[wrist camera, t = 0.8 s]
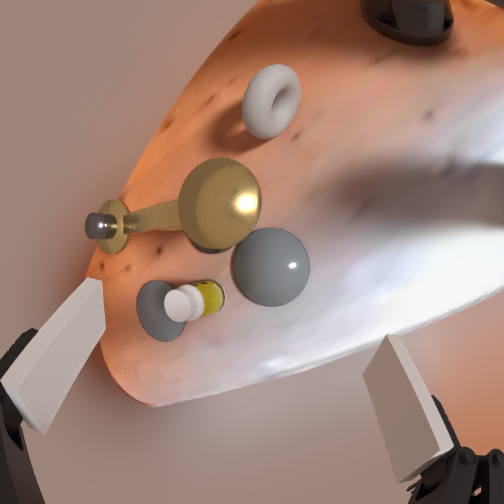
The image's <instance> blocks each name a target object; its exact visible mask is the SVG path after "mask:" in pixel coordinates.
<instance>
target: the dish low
mask: <svg viewBox="0 0 504 504" xmlns="http://www.w3.org/2000/svg"><path fill="white" fill-rule="evenodd" d="M171 290H175V288H174V287H173V286H172V285H170V284H169V283H167V282H164V281H160V280H158V281H151V282H149V283H147V284H145V285H144V286H143V287H142V289H141V290H140V292H139V295H138V299H137V312H138V316H139V320H140V322H141V324H142V326H143V328H144V329H145V331H146V332H147V333H148V334H149V335H150V336H151V337H153V338H154V339H156V340H158V341H163V342H167V341H171V340H173V339H175V338H177V337H178V336H179V335H180V334H181V333H182V331H183V329H184V326H185V322H186V321H183V322H176V321H173V320H172V319H171V318H170V317H169V316H168V315H167V313H166V310H165V307H164V300H165V297H166V295H167V293H168V292H170V291H171Z"/></svg>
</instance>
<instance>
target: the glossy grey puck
mask: <svg viewBox="0 0 504 504" xmlns="http://www.w3.org/2000/svg"><path fill="white" fill-rule="evenodd" d="M309 272H310V264H309V258H308V255H307V252H306V250H305V248H304V246H303V245H302V243H301V242H300V241H299V240H298V239H297V238H296V237H295V236H294V235H292V234H291V233H289V232H287V231H285V230H282V229H277V228H263V229H260V230H257V231H255V232H253V233H251V234H250V235H248V236H247V237H246V238H245V239H244V240H243V241H242V243H241V244H240V246H239V247H238V249H237V252H236V255H235V259H234V274H235V278H236V281H237V284H238V286H239V287H240V289H241V291H242V292H243V293H244V294H245V295H246V296H247V297H248V298H249V299H250V300H252V301H253V302H255V303H257V304H260V305H263V306H268V307H276V306H281V305H284V304H287V303H289V302H290V301H292V300H293V299H295V298H296V297H297V296H298V295H299V294H300V293H301V292H302V291H303V289H304V287H305V286H306V283H307V281H308V278H309Z"/></svg>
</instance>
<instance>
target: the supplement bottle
mask: <svg viewBox="0 0 504 504" xmlns="http://www.w3.org/2000/svg"><path fill="white" fill-rule="evenodd" d="M225 303H226V292H225V289H224V288H223V286H222V285H221V284H220V283H219V282H217V281H215V280H205V281H200V282H195V283H190V284H185V285H182V286H180V287H179V288H177V289H175V290H171V291H170V292H168V293H167V295H166V297H165V300H164V307H165V310H166V313H167V315H168V316H169V317H170V318H171V319H172V320H173V321H176V322H183V321H194V320H197V319H200V318H202V317H205V316H208V315H210V314H213V313H215V312H218V311H220V310H221V309H222V308H223V307H224V305H225Z"/></svg>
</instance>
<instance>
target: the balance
mask: <svg viewBox="0 0 504 504" xmlns="http://www.w3.org/2000/svg"><path fill="white" fill-rule="evenodd" d="M261 206H262V196H261V190H260V186H259V184H258V181H257V179H256V177H255V176H254V175H253V173H252V172H251V171H250V170H249V169H248V168H247V167H245V166H244V165H242V164H241V163H239V162H237V161H235V160H232V159H229V158H213V159H210V160H207V161H205V162H203V163H201V164H199V165H198V166H197V167H196V168H194V169H193V170H192V171H191V173H190V174H189V175H188V176H187V178H186V179H185V181H184V183H183V185H182V188H181V190H180V194H179V199H177V200H173V201H169V202H166V203H162V204H158V205H155V206H151V207H148V208H144V209H141V210H138V211H134V212H131V213H130V211H129V209H128V207H127V206H126V204H125V203H123V202H122V201H119V200H109V201H107V202H105V203H104V204H103V205H102V206H101V208H100V210H99V212H98V213H90V214H89V215H88V217H87V219H86V222H85V231H86V234H87V236H88V238H90V239H96V240H97V243H98V245H99V247H100V249H101V250H102V251H103V252H105V253H107V254H117V253H119V252H121V251H122V250H123V249H124V248H125V247H126V245H127V243H128V241H129V239H130V235H131V234H136V233H142V232H148V231H154V230H170V231H185V233H186V234H187V236H188V237H189V238H190V239H191V240H192V242H193V243H194V245H195V246H196V247H197V248H198V249H200V250H201V251H203V252H205V253H209V254H217V253H222V252H225V251H227V250H229V249H230V248H231V247H232V246H234V245H236V244H238V243H240V242H241V241H242V240H244V239H245V238H246V237H247V236H248V235H249V234H250V233H251V231H252V230H253V229H254V227H255V225H256V223H257V221H258V219H259V216H260V212H261Z"/></svg>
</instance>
